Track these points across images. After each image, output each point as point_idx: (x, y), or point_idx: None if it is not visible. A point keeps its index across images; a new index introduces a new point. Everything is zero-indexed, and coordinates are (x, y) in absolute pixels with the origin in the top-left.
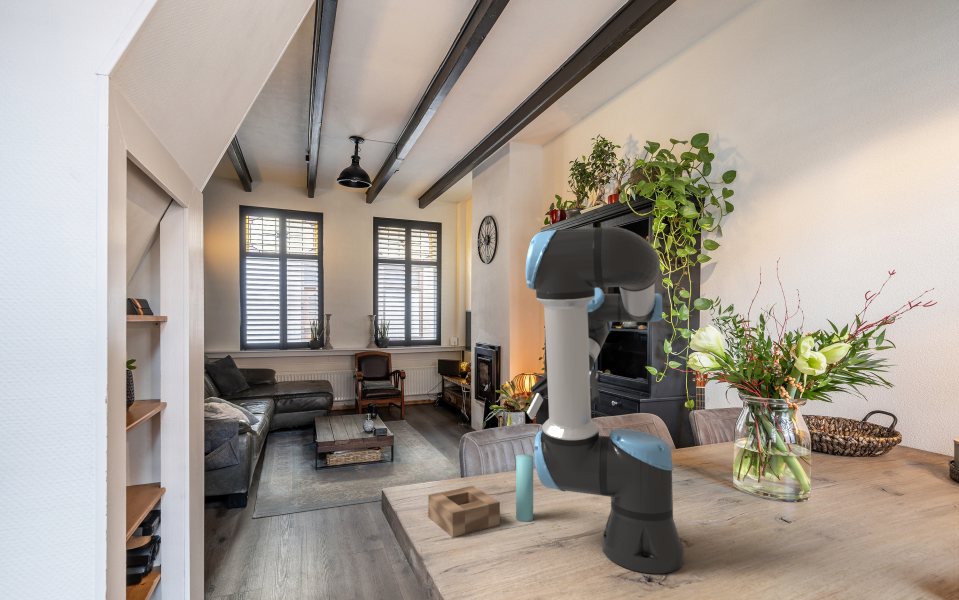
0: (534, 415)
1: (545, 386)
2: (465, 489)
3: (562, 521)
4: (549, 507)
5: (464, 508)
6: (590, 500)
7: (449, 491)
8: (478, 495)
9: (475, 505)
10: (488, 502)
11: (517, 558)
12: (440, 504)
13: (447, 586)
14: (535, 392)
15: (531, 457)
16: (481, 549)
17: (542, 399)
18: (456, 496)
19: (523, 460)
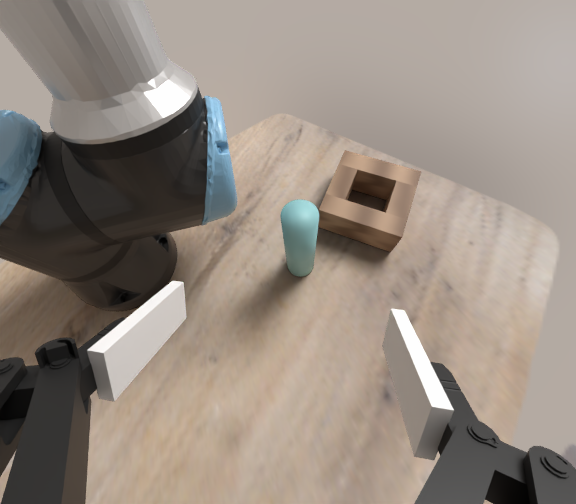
0: (387, 354)
1: (437, 489)
2: (397, 217)
3: (249, 291)
4: (290, 330)
5: (343, 167)
6: (238, 417)
7: (409, 197)
8: (362, 210)
9: (338, 181)
10: (331, 199)
11: (254, 178)
12: (380, 161)
13: (282, 117)
14: (476, 422)
15: (285, 220)
16: (297, 172)
17: (413, 443)
18: (390, 197)
19: (292, 201)
